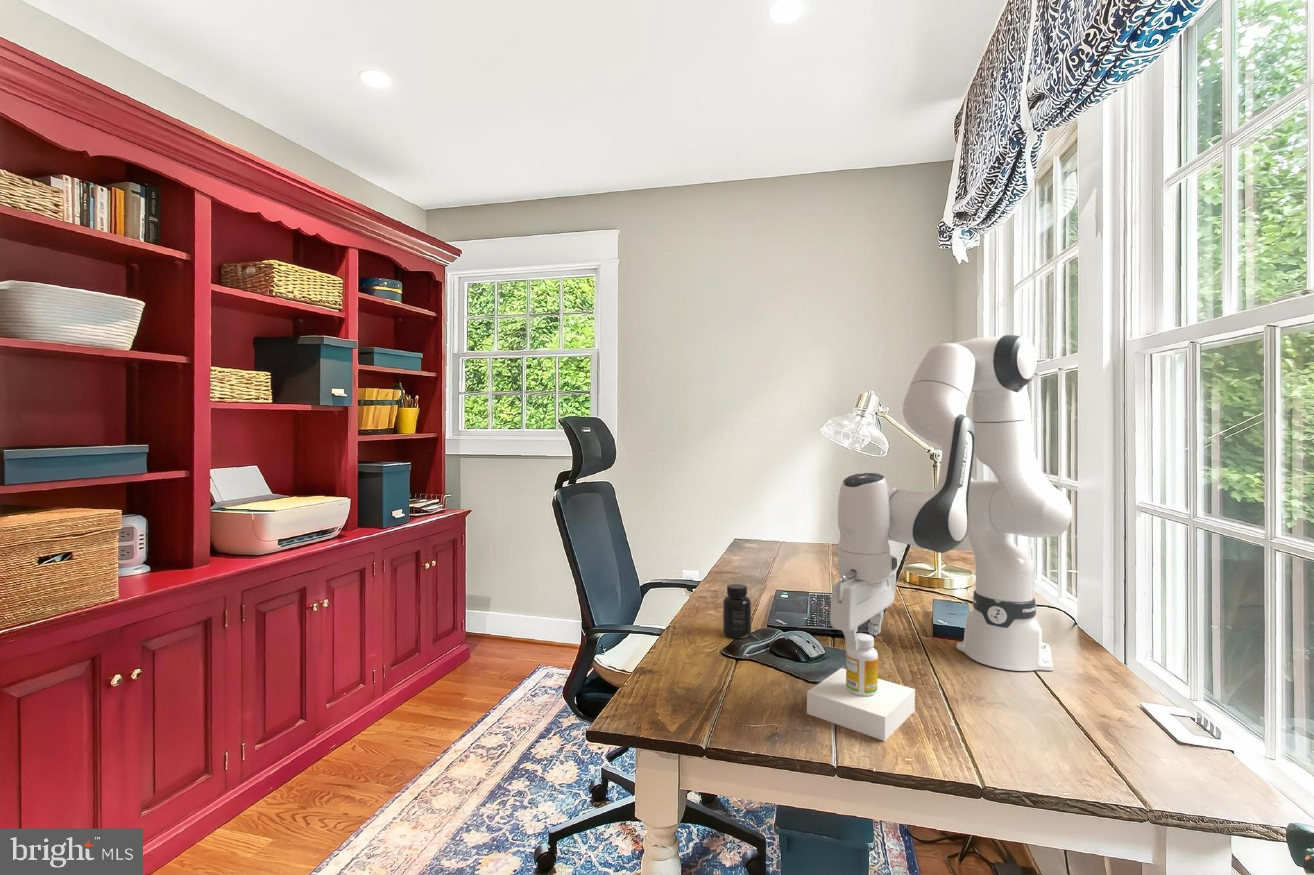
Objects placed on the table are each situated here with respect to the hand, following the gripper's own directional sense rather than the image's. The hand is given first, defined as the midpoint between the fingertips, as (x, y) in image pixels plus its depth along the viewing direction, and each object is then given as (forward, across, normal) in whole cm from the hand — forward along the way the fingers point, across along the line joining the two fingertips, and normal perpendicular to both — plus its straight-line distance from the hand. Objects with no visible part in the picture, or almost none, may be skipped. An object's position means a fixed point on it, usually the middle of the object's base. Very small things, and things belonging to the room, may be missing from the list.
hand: (863, 641), depth 109 cm
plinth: (+13, -1, 0) cm, 13 cm away
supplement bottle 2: (+9, 0, 0) cm, 9 cm away
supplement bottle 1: (+13, +17, +39) cm, 45 cm away
